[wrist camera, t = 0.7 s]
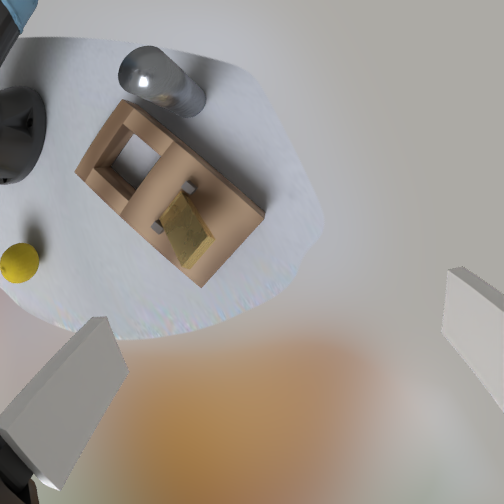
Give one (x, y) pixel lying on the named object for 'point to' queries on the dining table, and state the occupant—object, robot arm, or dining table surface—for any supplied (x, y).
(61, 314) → the dining table surface
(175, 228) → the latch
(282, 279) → the dining table surface
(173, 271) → the dining table surface
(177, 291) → the dining table surface
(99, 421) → the robot arm
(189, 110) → the peg
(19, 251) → the lemon
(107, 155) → the block
